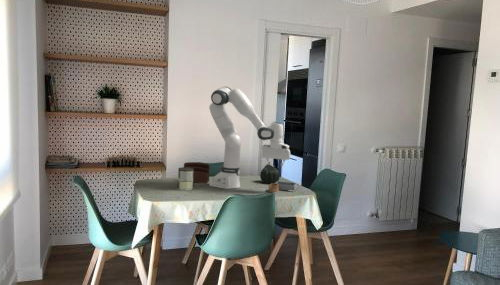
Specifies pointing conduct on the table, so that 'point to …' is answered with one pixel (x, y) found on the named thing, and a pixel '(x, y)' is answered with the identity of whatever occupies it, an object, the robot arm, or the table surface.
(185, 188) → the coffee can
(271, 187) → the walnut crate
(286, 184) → the charcoal crate
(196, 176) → the letter holder
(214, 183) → the robot arm
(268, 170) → the squash
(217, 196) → the table surface
